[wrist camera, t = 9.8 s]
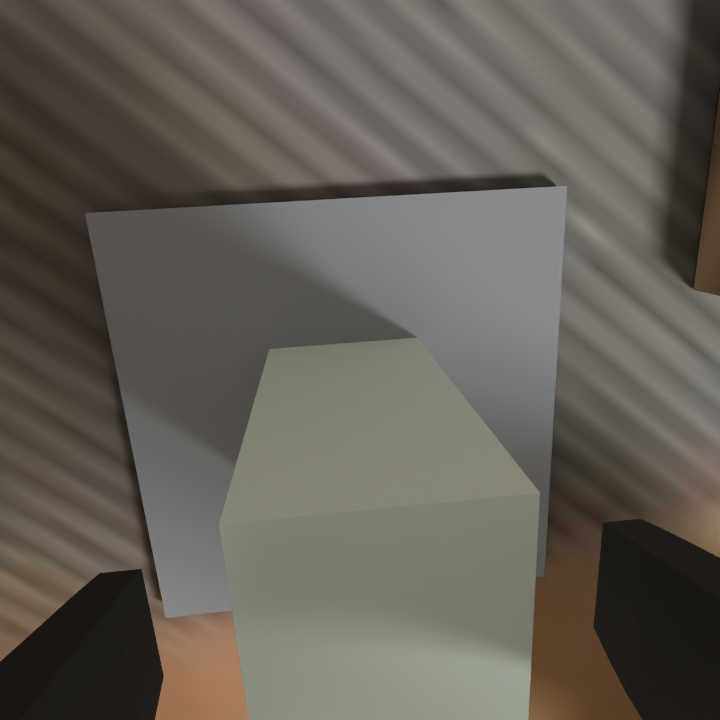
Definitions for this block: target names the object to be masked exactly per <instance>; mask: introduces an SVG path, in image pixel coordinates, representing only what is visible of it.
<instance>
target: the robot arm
mask: <svg viewBox="0 0 720 720" xmlns="http://www.w3.org/2000/svg"><path fill="white" fill-rule="evenodd" d="M594 629H595V631H596V633H597V635H598V637H599V639H600V641H601V644H602V646H603V648H604V650H605V652H606V654H607V656H608V658H609V660H610V662H611V664H612V666H613V668H614V670H615V672H616V674H617V676H618V678H619V680H620V682H621V684H622V686H623V688H624V689H625V691H626V693H627V695H628V697H629V698H630V700H631V701H632V703H633V705H634V706H635V708H636V709H637V711H638V713H639V714H640V716H641V717H642V719H643V720H720V558H719V557H717V556H715V555H713V554H711V553H709V552H707V551H705V550H703V549H701V548H699V547H697V546H695V545H694V544H692V543H690V542H688V541H686V540H684V539H682V538H680V537H678V536H676V535H674V534H672V533H670V532H668V531H666V530H663V529H661V528H659V527H657V526H655V525H653V524H650V523H648V522H646V521H644V520H641V519H635V520H625V521H615V522H605V523H603V530H602V541H601V552H600V563H599V574H598V585H597V596H596V607H595V618H594ZM163 677H164V676H163V671H162V666H161V661H160V656H159V652H158V647H157V642H156V637H155V632H154V628H153V623H152V618H151V613H150V608H149V603H148V599H147V594H146V589H145V584H144V579H143V575H142V570H141V569H137V570H127V571H117V572H107V573H100V574H98V575H97V576H96V577H95V578H94V579H92V580H91V581H90V582H89V583H88V584H86V585H85V586H84V587H83V588H82V589H81V590H80V591H78V592H77V593H76V594H75V595H74V596H73V597H72V598H70V599H69V600H68V601H67V602H66V603H65V604H64V605H63V606H62V607H60V608H59V609H58V610H57V611H56V612H55V613H54V614H53V615H52V616H51V617H49V618H48V619H47V620H46V621H45V622H44V623H43V624H42V625H41V626H40V627H38V628H37V629H36V630H35V631H34V632H33V633H32V634H31V635H30V636H29V637H27V638H26V639H25V640H24V641H23V642H22V643H21V644H20V645H18V646H17V647H16V648H15V649H14V650H13V651H12V652H11V653H9V654H8V655H7V656H6V657H5V658H4V659H3V660H2V661H1V662H0V720H155V716H156V711H157V706H158V701H159V696H160V691H161V686H162V681H163Z"/></svg>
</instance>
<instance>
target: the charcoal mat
mask: <svg viewBox="0 0 720 720" xmlns="http://www.w3.org/2000/svg"><path fill="white" fill-rule="evenodd" d="M566 196H567V186H556V187H538V188H520V189H503V190H485V191H467V192H449V193H432V194H414V195H396V196H378V197H360V198H343V199H325V200H307V201H289V202H272V203H254V204H236V205H218V206H201V207H183V208H165V209H147V210H130V211H112V212H94V213H85V216H86V221H87V226H88V231H89V236H90V241H91V246H92V251H93V256H94V261H95V266H96V271H97V276H98V281H99V286H100V291H101V296H102V301H103V306H104V311H105V316H106V321H107V326H108V331H109V336H110V341H111V346H112V351H113V356H114V361H115V366H116V371H117V376H118V381H119V386H120V391H121V396H122V401H123V406H124V411H125V416H126V421H127V426H128V431H129V436H130V441H131V446H132V451H133V456H134V461H135V466H136V471H137V476H138V481H139V486H140V491H141V497H142V502H143V507H144V512H145V517H146V522H147V527H148V532H149V537H150V542H151V547H152V552H153V557H154V562H155V567H156V572H157V577H158V582H159V587H160V592H161V597H162V602H163V607H164V612H165V617H166V618H169V617H178V616H187V615H196V614H206V613H215V612H224V611H232V607H231V600H230V594H229V587H228V581H227V574H226V568H225V562H224V555H223V549H222V542H221V536H220V529H219V522H220V518H221V515H222V512H223V508H224V505H225V501H226V498H227V494H228V491H229V487H230V484H231V480H232V477H233V473H234V470H235V466H236V463H237V459H238V456H239V452H240V449H241V446H242V442H243V439H244V435H245V432H246V428H247V425H248V421H249V418H250V414H251V411H252V407H253V404H254V400H255V397H256V393H257V390H258V386H259V383H260V380H261V376H262V373H263V369H264V366H265V362H266V359H267V355H268V352H269V349H275V348H288V347H301V346H314V345H327V344H340V343H353V342H366V341H379V340H392V339H405V338H418V339H419V340H420V342H421V343H422V344H423V345H424V347H425V348H426V349H427V350H428V352H429V353H430V354H431V355H432V357H433V358H434V359H435V361H436V362H437V363H438V364H439V366H440V367H441V368H442V369H443V371H444V372H445V373H446V374H447V376H448V377H449V378H450V379H451V381H452V382H453V383H454V385H455V386H456V387H457V388H458V390H459V391H460V392H461V393H462V395H463V396H464V397H465V398H466V400H467V401H468V402H469V404H470V405H471V406H472V407H473V409H474V410H475V411H476V412H477V414H478V415H479V416H480V417H481V419H482V420H483V421H484V423H485V424H486V425H487V426H488V428H489V429H490V430H491V431H492V433H493V434H494V435H495V436H496V438H497V439H498V440H499V441H500V443H501V444H502V445H503V447H504V448H505V449H506V450H507V452H508V453H509V454H510V455H511V457H512V458H513V459H514V460H515V462H516V463H517V464H518V466H519V467H520V468H521V469H522V471H523V472H524V473H525V474H526V476H527V477H528V478H529V479H530V481H531V482H532V483H533V485H534V486H535V487H536V488H537V490H538V491H539V492H540V502H539V522H538V541H537V561H536V577H544V576H545V559H546V542H547V525H548V507H549V490H550V473H551V456H552V438H553V421H554V404H555V386H556V369H557V352H558V335H559V317H560V300H561V283H562V265H563V248H564V231H565V214H566Z"/></svg>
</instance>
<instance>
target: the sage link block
mask: <svg viewBox="0 0 720 720" xmlns="http://www.w3.org/2000/svg"><path fill="white" fill-rule="evenodd" d="M539 502H540V492H539V491H538V490H537V488H536V487H535V486H534V485H533V483H532V482H531V481H530V479H529V478H528V477H527V476H526V474H525V473H524V472H523V471H522V469H521V468H520V467H519V466H518V464H517V463H516V462H515V460H514V459H513V458H512V457H511V455H510V454H509V453H508V452H507V450H506V449H505V448H504V447H503V445H502V444H501V443H500V441H499V440H498V439H497V438H496V436H495V435H494V434H493V433H492V431H491V430H490V429H489V428H488V426H487V425H486V424H485V423H484V421H483V420H482V419H481V417H480V416H479V415H478V414H477V412H476V411H475V410H474V409H473V407H472V406H471V405H470V404H469V402H468V401H467V400H466V398H465V397H464V396H463V395H462V393H461V392H460V391H459V390H458V388H457V387H456V386H455V385H454V383H453V382H452V381H451V379H450V378H449V377H448V376H447V374H446V373H445V372H444V371H443V369H442V368H441V367H440V366H439V364H438V363H437V362H436V361H435V359H434V358H433V357H432V355H431V354H430V353H429V352H428V350H427V349H426V348H425V347H424V345H423V344H422V343H421V342H420V340H419V339H418V338H405V339H392V340H379V341H366V342H353V343H340V344H327V345H314V346H301V347H288V348H275V349H269V352H268V355H267V359H266V362H265V366H264V369H263V373H262V376H261V380H260V383H259V386H258V390H257V393H256V397H255V400H254V404H253V407H252V411H251V414H250V418H249V421H248V425H247V428H246V432H245V435H244V439H243V442H242V446H241V449H240V452H239V456H238V459H237V463H236V466H235V470H234V473H233V477H232V480H231V484H230V487H229V491H228V494H227V498H226V501H225V505H224V508H223V512H222V515H221V518H220V522H219V529H220V536H221V542H222V549H223V555H224V562H225V568H226V574H227V581H228V587H229V594H230V600H231V607H232V613H233V620H234V626H235V633H236V639H237V645H238V652H239V658H240V665H241V671H242V678H243V684H244V691H245V697H246V703H247V710H248V716H249V720H528V719H529V700H530V680H531V660H532V640H533V621H534V601H535V581H536V561H537V541H538V522H539Z"/></svg>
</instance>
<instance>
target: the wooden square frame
mask: <svg viewBox="0 0 720 720" xmlns="http://www.w3.org/2000/svg"><path fill="white" fill-rule="evenodd" d="M694 290H697V291H701V292H705V293H710V294H714V295H719V296H720V93H719V100H718V108H717V115H716V123H715V131H714V138H713V146H712V153H711V161H710V169H709V176H708V184H707V191H706V199H705V206H704V214H703V222H702V229H701V237H700V244H699V252H698V260H697V267H696V275H695V282H694Z"/></svg>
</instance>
